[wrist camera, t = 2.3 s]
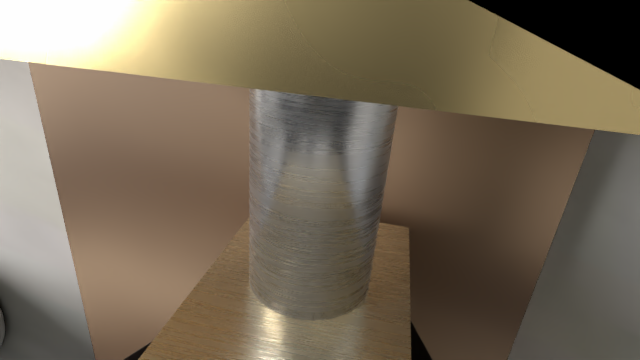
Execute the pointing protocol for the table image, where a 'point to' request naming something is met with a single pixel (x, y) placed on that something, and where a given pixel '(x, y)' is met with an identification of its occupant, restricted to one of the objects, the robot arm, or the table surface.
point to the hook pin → (305, 245)
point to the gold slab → (337, 53)
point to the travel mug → (2, 327)
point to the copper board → (233, 191)
